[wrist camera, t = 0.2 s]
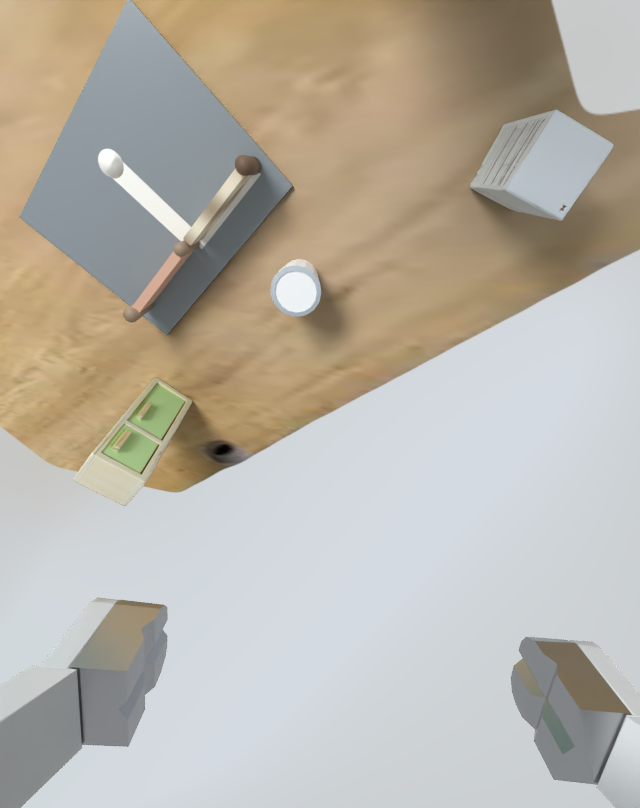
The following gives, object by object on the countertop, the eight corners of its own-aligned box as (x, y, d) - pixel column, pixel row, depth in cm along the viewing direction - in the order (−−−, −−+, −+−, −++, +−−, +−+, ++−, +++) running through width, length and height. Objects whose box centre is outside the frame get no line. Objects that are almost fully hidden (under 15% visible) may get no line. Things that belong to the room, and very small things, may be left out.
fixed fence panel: (252, 152, 46) (242, 150, 41) (264, 165, 47) (256, 165, 42) (193, 230, 51) (178, 237, 46) (205, 241, 52) (191, 249, 47)
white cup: (275, 254, 53) (268, 264, 47) (323, 255, 53) (321, 266, 47) (278, 301, 57) (271, 316, 51) (322, 302, 56) (321, 317, 51)
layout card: (130, -1, 39) (128, -3, 39) (292, 185, 48) (292, 185, 48) (22, 216, 51) (19, 217, 51) (168, 333, 60) (166, 335, 60)
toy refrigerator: (196, 398, 67) (148, 481, 49) (176, 422, 70) (124, 508, 52) (157, 372, 64) (91, 450, 46) (138, 398, 67) (69, 480, 50)
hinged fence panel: (191, 232, 51) (176, 239, 46) (202, 243, 52) (189, 251, 47) (138, 302, 56) (120, 315, 52) (149, 312, 57) (132, 325, 52)
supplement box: (552, 150, 45) (619, 145, 35) (512, 212, 49) (562, 224, 38) (503, 121, 44) (557, 105, 33) (466, 186, 48) (504, 192, 37)
